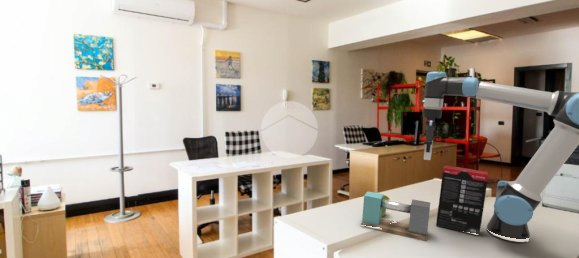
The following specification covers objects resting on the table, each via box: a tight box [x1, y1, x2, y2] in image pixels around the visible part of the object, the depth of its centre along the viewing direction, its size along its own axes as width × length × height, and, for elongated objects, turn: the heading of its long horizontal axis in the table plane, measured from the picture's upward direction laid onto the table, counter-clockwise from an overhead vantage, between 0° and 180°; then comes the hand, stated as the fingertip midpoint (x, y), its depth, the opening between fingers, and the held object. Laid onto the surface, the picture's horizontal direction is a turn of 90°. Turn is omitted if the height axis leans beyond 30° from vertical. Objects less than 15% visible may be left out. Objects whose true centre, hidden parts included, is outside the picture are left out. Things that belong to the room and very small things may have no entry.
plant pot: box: [382, 194, 390, 217], centre depth 151 cm, size 9×9×9 cm
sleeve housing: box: [408, 198, 431, 237], centre depth 131 cm, size 7×7×12 cm
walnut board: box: [360, 218, 428, 242], centre depth 136 cm, size 26×10×2 cm, turn 65°
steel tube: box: [381, 200, 411, 214], centre depth 135 cm, size 17×4×4 cm, turn 65°
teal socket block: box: [361, 191, 384, 225], centre depth 139 cm, size 7×7×12 cm
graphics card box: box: [435, 164, 489, 235], centre depth 138 cm, size 17×7×27 cm, turn 59°
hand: (427, 157), depth 139 cm, fingers open, 13 cm apart
